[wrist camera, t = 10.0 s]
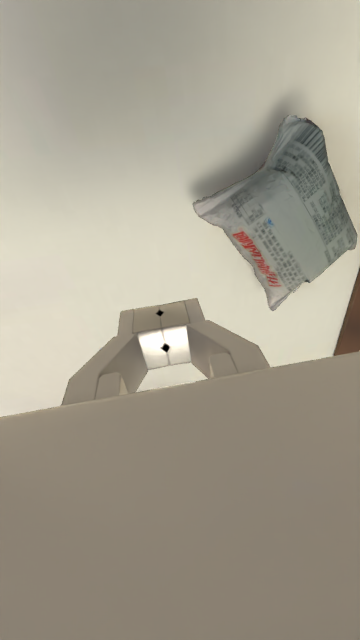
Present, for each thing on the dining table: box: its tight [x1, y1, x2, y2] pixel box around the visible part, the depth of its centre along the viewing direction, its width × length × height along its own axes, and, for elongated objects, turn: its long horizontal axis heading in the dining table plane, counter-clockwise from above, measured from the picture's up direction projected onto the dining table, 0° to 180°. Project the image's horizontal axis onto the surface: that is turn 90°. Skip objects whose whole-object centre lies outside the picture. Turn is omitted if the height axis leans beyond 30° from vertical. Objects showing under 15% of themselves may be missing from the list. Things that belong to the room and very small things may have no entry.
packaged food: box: [193, 115, 357, 311], centre depth 19 cm, size 9×12×5 cm
